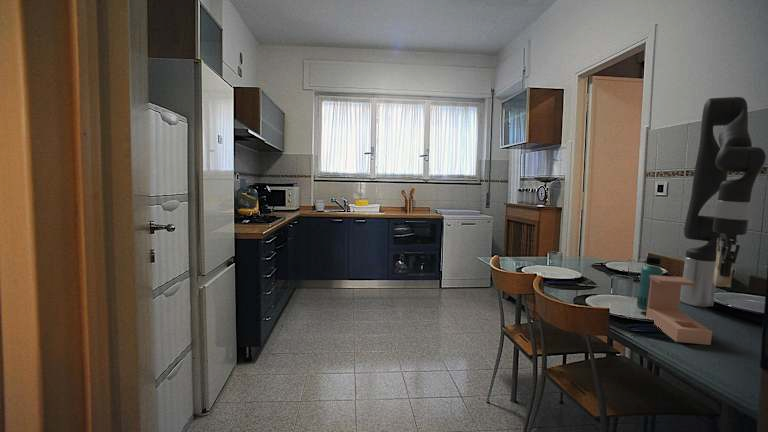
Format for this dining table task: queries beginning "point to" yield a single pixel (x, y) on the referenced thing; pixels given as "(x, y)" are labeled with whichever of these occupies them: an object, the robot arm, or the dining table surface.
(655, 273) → the beverage bottle
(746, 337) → the dining table surface
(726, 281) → the peg
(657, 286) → the socket stand
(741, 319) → the dining table surface
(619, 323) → the dining table surface
